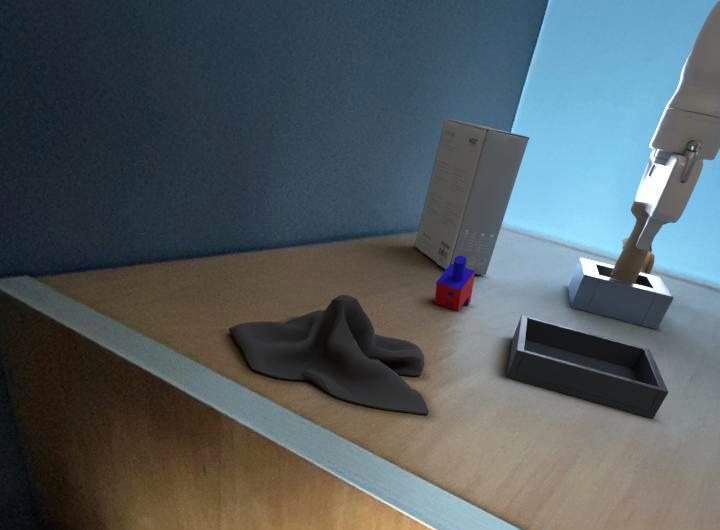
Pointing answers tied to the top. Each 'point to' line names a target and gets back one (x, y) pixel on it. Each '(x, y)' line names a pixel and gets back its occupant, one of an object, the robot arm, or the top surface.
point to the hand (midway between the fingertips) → (638, 245)
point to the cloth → (337, 356)
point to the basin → (586, 366)
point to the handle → (632, 249)
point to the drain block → (619, 294)
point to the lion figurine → (648, 261)
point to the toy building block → (455, 285)
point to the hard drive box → (469, 193)
